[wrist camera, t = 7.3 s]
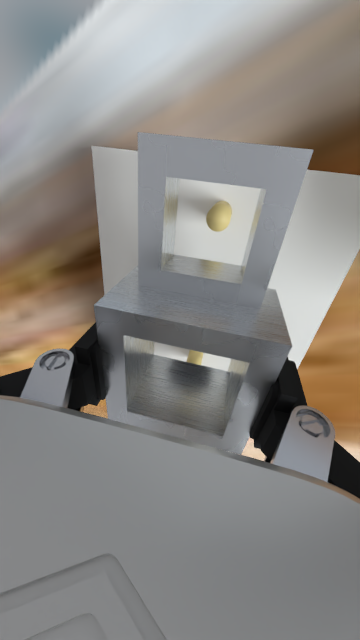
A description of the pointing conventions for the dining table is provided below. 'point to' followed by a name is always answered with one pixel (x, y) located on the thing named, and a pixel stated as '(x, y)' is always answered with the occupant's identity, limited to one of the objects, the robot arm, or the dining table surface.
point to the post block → (238, 239)
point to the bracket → (199, 297)
